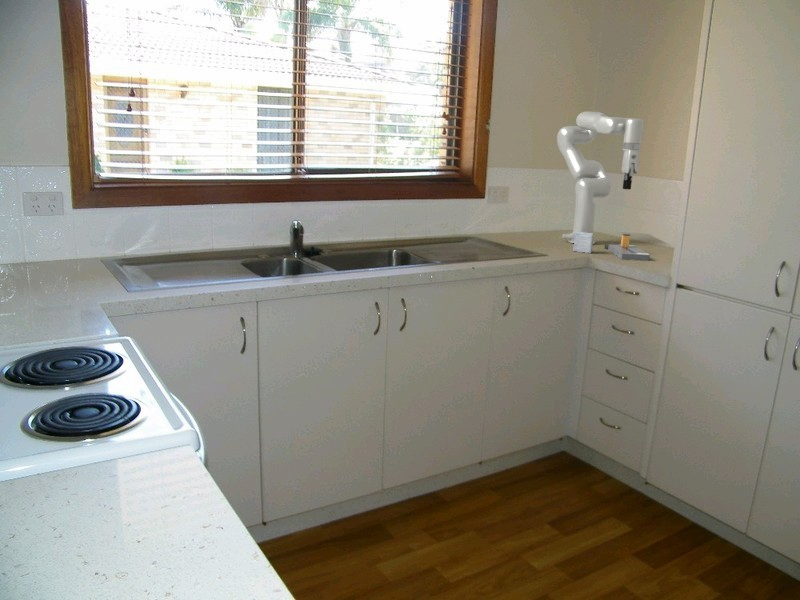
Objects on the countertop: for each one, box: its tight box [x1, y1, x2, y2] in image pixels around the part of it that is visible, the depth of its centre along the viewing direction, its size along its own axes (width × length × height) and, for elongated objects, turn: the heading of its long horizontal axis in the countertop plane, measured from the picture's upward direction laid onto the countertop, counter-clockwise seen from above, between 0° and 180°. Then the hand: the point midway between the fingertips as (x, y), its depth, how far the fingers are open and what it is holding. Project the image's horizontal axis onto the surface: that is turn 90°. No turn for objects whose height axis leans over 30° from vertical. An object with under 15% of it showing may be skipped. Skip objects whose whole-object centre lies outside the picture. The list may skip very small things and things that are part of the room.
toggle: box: [620, 233, 631, 249], centre depth 323 cm, size 3×2×8 cm
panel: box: [607, 244, 651, 261], centre depth 318 cm, size 12×24×3 cm, turn 178°
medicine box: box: [572, 232, 595, 254], centre depth 319 cm, size 8×4×9 cm, turn 65°
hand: (626, 189), depth 315 cm, fingers closed
